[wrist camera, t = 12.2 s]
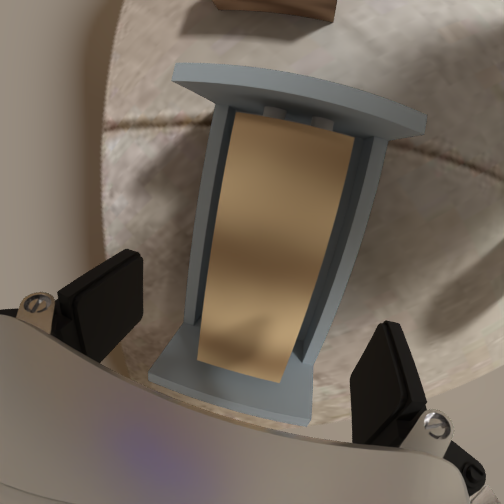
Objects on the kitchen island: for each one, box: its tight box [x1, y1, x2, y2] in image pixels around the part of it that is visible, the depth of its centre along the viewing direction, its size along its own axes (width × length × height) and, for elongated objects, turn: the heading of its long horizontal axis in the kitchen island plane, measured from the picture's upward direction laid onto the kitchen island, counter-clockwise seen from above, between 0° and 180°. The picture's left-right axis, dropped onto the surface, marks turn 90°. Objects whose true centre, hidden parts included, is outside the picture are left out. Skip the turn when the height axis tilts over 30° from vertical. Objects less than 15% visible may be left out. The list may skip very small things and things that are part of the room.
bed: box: [148, 63, 427, 427], centre depth 18 cm, size 12×20×10 cm, turn 169°
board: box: [197, 112, 355, 383], centre depth 17 cm, size 16×6×3 cm, turn 169°
